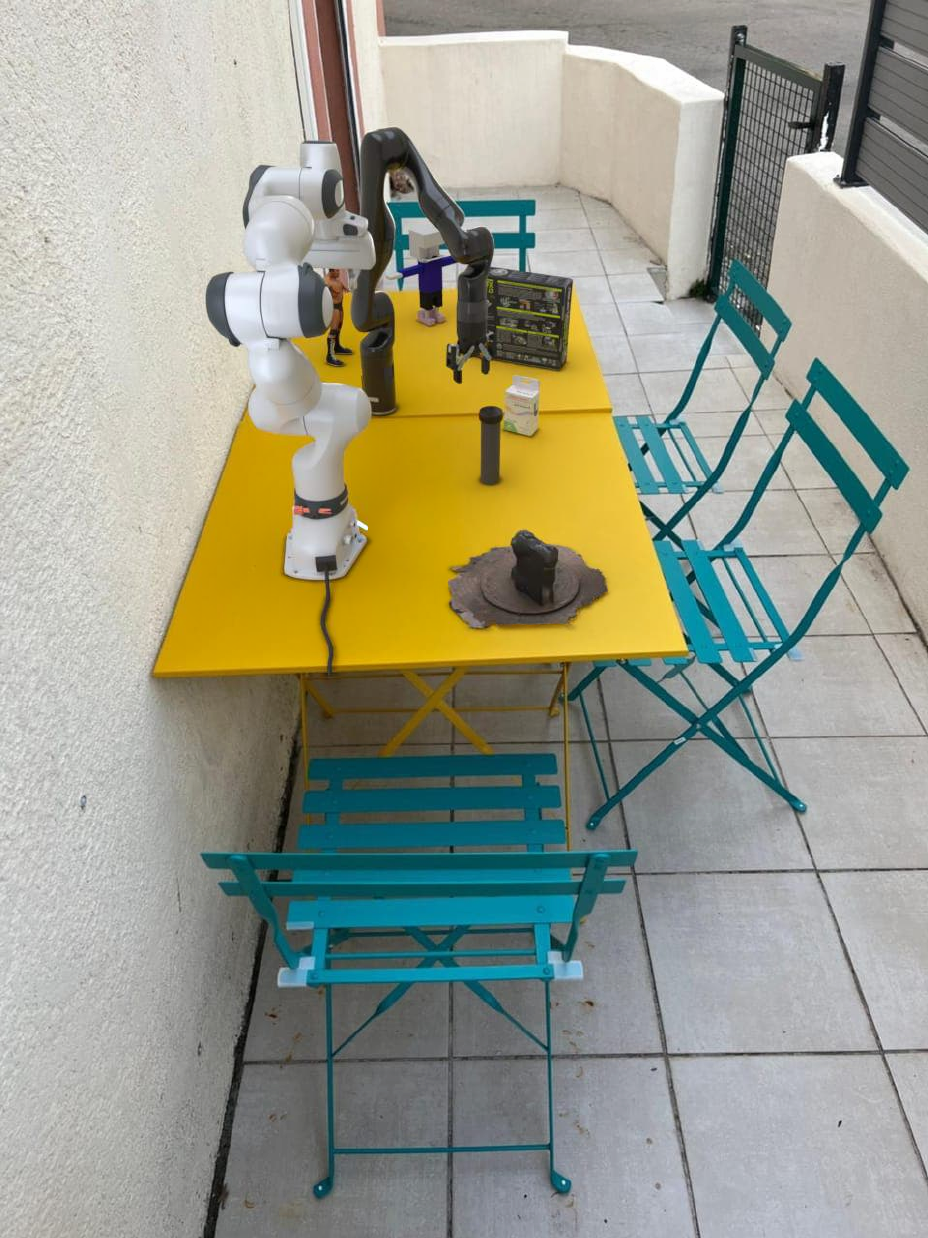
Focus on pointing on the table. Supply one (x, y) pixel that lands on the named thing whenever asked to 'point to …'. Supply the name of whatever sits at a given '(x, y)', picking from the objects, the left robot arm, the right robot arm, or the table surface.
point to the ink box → (522, 406)
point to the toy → (426, 271)
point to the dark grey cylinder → (490, 453)
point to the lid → (490, 415)
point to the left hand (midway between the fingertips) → (332, 287)
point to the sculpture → (524, 584)
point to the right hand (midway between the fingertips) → (471, 378)
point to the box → (529, 316)
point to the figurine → (336, 317)
